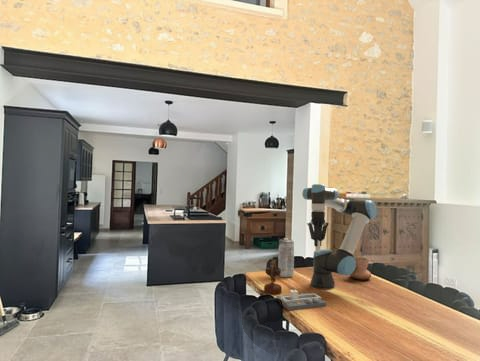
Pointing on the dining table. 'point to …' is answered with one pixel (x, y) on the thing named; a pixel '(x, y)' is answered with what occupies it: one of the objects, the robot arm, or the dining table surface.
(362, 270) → the ceramic jug
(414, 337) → the dining table surface
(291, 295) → the fader
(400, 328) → the dining table surface
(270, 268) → the brown rounded tall piece
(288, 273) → the grey canister
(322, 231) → the robot arm
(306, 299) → the console
